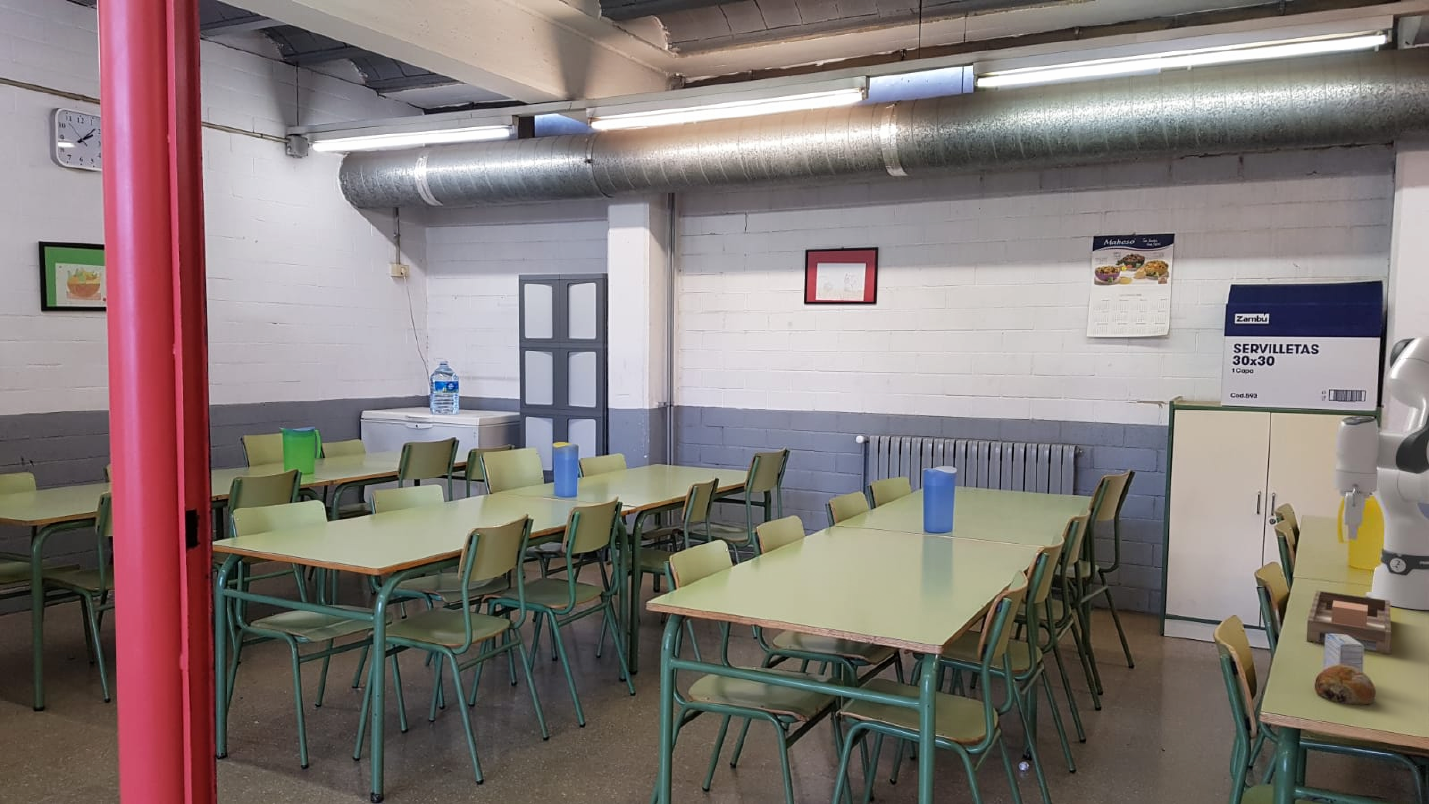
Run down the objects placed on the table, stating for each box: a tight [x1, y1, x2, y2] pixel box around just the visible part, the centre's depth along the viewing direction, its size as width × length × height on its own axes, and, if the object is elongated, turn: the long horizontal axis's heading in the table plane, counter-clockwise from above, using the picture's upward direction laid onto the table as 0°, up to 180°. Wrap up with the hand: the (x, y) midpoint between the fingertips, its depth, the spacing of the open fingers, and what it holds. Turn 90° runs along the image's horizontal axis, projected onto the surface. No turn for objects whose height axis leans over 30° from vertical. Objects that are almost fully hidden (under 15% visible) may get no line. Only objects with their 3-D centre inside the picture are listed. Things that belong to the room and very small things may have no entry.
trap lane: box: [1306, 590, 1392, 655], centre depth 241 cm, size 36×16×5 cm, turn 146°
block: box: [1331, 601, 1368, 628], centre depth 237 cm, size 7×7×4 cm
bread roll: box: [1314, 665, 1377, 706], centre depth 193 cm, size 10×10×8 cm
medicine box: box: [1322, 634, 1365, 673], centre depth 203 cm, size 8×4×9 cm, turn 168°
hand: (1352, 538), depth 244 cm, fingers closed
